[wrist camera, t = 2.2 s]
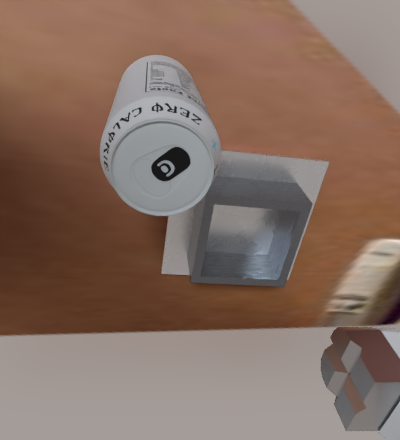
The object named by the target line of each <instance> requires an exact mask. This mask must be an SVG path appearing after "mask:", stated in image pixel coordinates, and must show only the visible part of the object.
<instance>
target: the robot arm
mask: <svg viewBox="0 0 400 440" xmlns="http://www.w3.org/2000/svg"><path fill="white" fill-rule="evenodd" d="M331 340H332V342H333V344H332V345H331V346H329V347H328V348H327V349H325V351H324V353H323V355H322V358H321V372H322V377H323V380H324V382H325V385H326V387H327V388H328V389H329V390H330V391H331V392H332V393H333V394H335V395H336V399H335V403H334V405H335V407H336V410H337V412H338V414H339V416H340V419H341V421H342V423H343V425H344V427H345V430H346V431H379V434H380V435H381V436H382V437H383V438H384V439H385V440H400V332H399V331H398V330H396V329H395V328H372V327H338V328H337V329H335V330H334V331H333V333H332V335H331Z"/></svg>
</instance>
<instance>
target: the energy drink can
mask: <svg viewBox="0 0 400 440" xmlns="http://www.w3.org/2000/svg"><path fill="white" fill-rule="evenodd" d="M100 162H101V165H102V169H103V172H104V174H105V176H106V178H107V180H108V182H109V183H110V184H111V186H112V187H113V188H114V189H115V191H116V192H117V194H118V195H119V196H120V198H121V199H122V200H123V201H124V202H125V203H127V204H128V205H129V206H130V207H132V208H134V209H136V210H137V211H139V212H142V213H145V214H148V215H154V216H170V215H176V214H179V213H182V212H184V211H186V210H188V209H190V208H192V207H193V206H195V205H196V204H197V203H198V202H199V201H201V199H202V198H203V197H204V196H205V195H206V193H207V192H208V190H209V188H210V186H211V184H212V183H213V181H214V179H215V177H216V175H217V173H218V170H219V167H220V162H221V144H220V140H219V136H218V133H217V131H216V128H215V126H214V124H213V122H212V120H211V117H210V115H209V113H208V111H207V109H206V107H205V104H204V102H203V100H202V98H201V96H200V94H199V91H198V89H197V87H196V85H195V83H194V80H193V78H192V77H191V75H190V73H189V72H188V71H187V69H186V68H185V67H184V66H183V65H182V64H180V63H179V62H178V61H176V60H174V59H172V58H170V57H166V56H163V55H151V56H146V57H143V58H140V59H138V60H137V61H135V62H134V63H132V64H131V65H130V66H129V67H128V68H127V69H126V71H125V73H124V74H123V76H122V78H121V81H120V84H119V87H118V90H117V93H116V96H115V99H114V102H113V105H112V108H111V111H110V114H109V117H108V120H107V123H106V126H105V129H104V132H103V135H102V138H101V144H100Z"/></svg>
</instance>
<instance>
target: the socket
mask: <svg viewBox="0 0 400 440" xmlns="http://www.w3.org/2000/svg"><path fill="white" fill-rule="evenodd" d="M328 164H329V161H328V160H323V159H314V158H304V157H295V156H286V155H276V154H267V153H257V152H248V151H239V150H229V149H221V162H220V167H219V170H218V173H217V175H216V177H215V179H214V181H213V183H212V184H211V186H210V188H209V190H208V192H207V193H206V195H205V196H204V197H203V198H202V199H201V201H199V202H198V203H197V204H196V205H195V206H193V207H192V208H190V209H188V210H186V211H184V212H182V213H179V214H176V215H170V216H168V220H167V228H166V236H165V244H164V252H163V260H162V268H161V274H175V275H190V282H191V283H210V284H233V285H255V286H278V287H284V286H285V283H286V280H288V279H289V276H290V273H291V270H292V268H293V265H294V262H295V259H296V256H297V253H298V250H299V248H300V245H301V242H302V239H303V236H304V233H305V230H306V227H307V225H308V222H309V219H310V216H311V213H312V210H313V207H314V204H315V202H316V199H317V196H318V193H319V190H320V187H321V184H322V181H323V179H324V176H325V173H326V170H327V167H328Z"/></svg>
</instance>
